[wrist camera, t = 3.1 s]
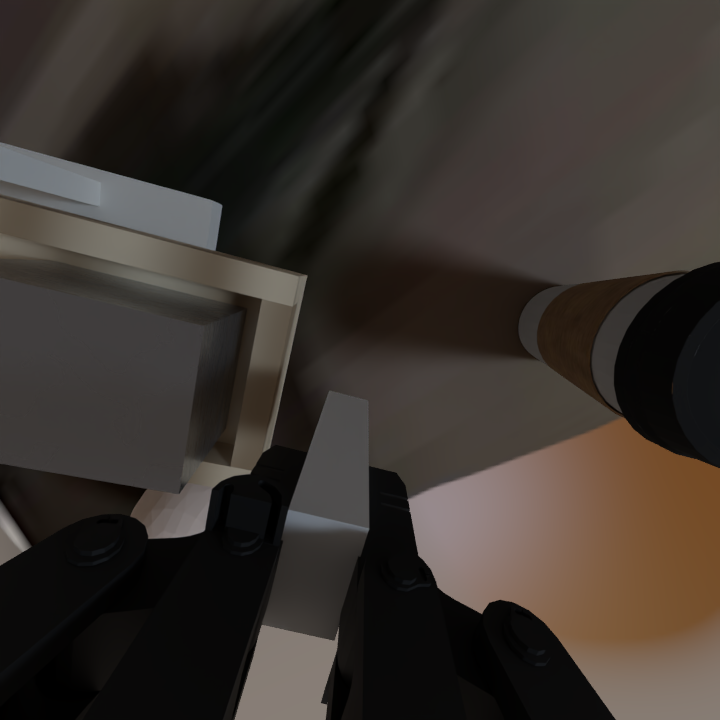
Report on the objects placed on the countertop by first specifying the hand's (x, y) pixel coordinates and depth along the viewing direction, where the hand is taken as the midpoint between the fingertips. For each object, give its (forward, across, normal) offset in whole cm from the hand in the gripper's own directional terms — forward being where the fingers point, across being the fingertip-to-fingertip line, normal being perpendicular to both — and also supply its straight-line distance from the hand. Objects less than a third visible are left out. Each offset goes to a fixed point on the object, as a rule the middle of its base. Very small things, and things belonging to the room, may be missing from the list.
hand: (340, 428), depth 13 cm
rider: (+3, -9, 0) cm, 10 cm away
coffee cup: (+15, +15, +6) cm, 22 cm away
